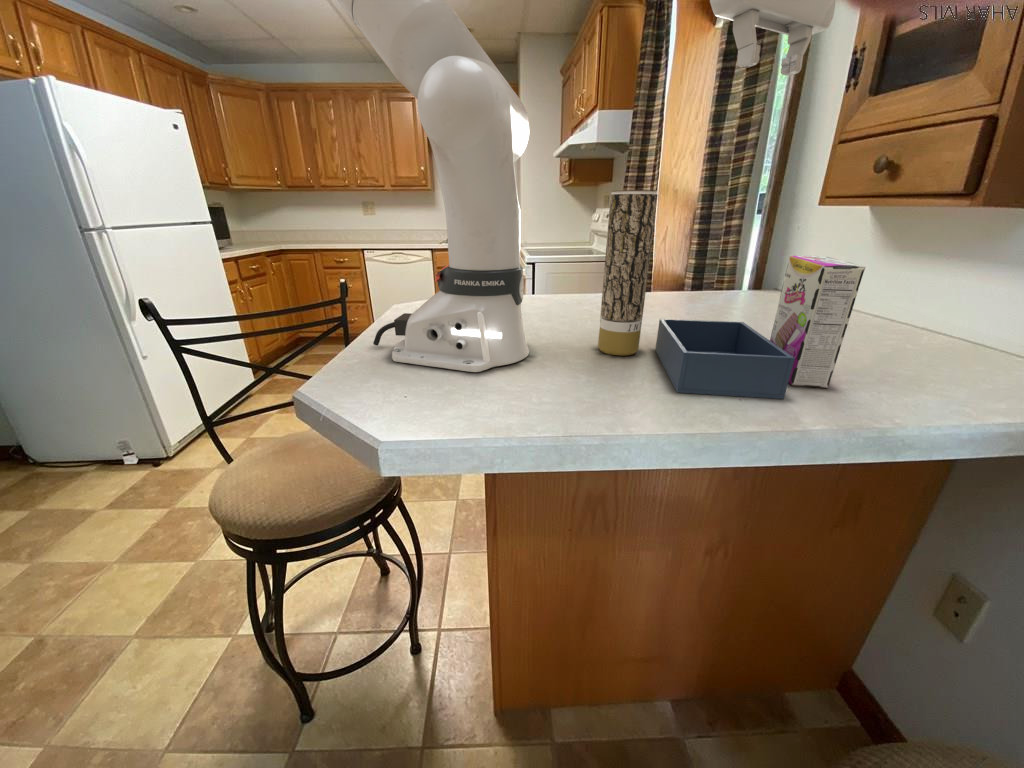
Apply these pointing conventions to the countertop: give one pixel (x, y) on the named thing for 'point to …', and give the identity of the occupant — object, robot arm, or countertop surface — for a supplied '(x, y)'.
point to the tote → (722, 359)
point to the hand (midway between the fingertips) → (770, 70)
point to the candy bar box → (815, 315)
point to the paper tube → (626, 269)
